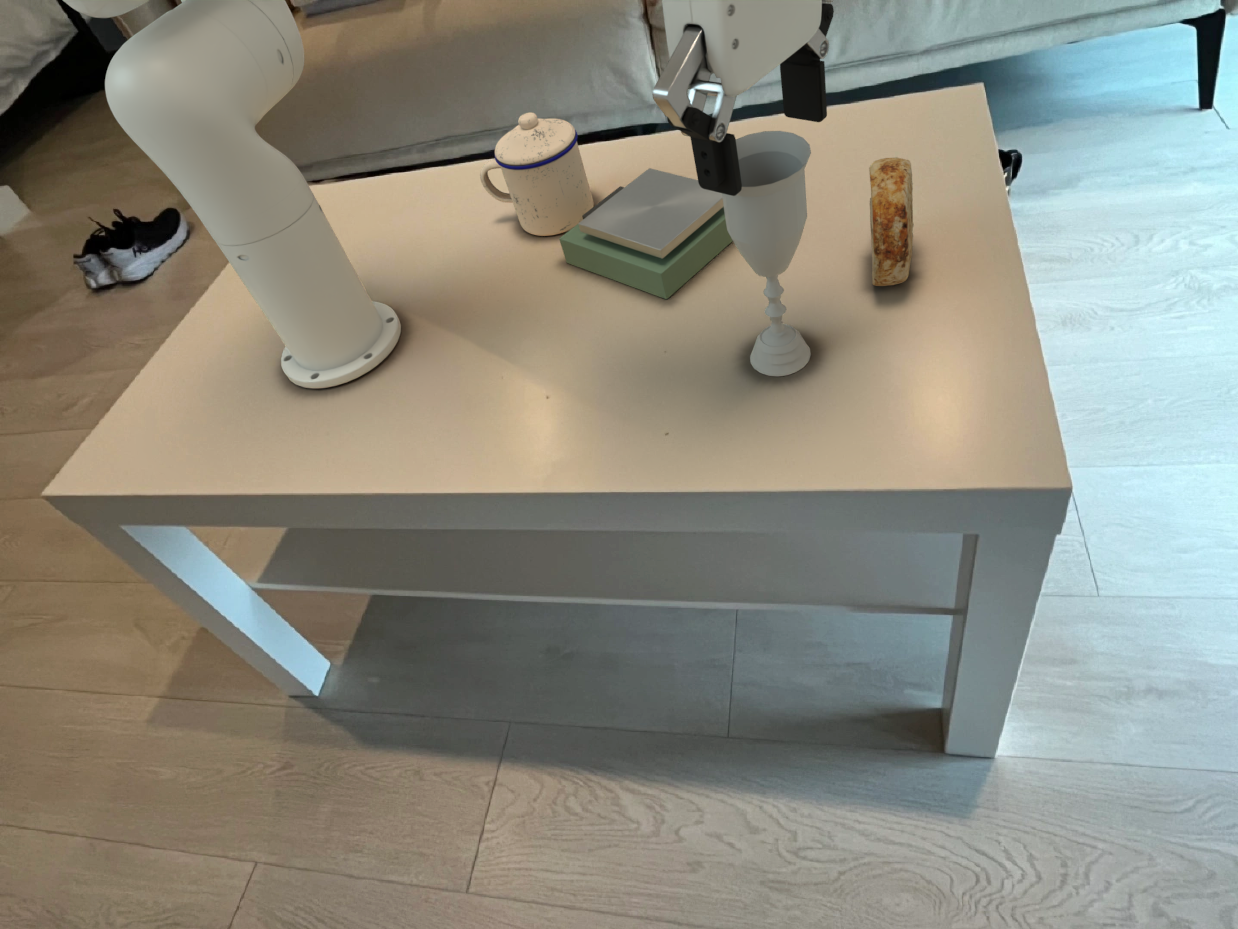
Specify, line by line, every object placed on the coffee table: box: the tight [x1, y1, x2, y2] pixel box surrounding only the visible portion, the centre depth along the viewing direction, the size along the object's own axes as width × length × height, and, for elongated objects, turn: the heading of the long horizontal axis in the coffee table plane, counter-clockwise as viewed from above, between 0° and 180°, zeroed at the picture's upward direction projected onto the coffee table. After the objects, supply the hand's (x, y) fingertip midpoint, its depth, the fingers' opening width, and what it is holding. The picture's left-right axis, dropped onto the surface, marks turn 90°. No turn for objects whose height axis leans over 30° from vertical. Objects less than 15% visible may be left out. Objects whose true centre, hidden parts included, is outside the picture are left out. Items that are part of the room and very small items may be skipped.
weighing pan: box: [578, 167, 724, 259], centre depth 80 cm, size 11×11×1 cm
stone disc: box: [868, 157, 914, 287], centre depth 70 cm, size 10×4×10 cm, turn 167°
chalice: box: [722, 130, 812, 377], centre depth 62 cm, size 7×7×18 cm
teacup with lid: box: [479, 112, 595, 237], centre depth 89 cm, size 12×9×12 cm
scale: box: [558, 185, 733, 300], centre depth 83 cm, size 14×13×4 cm
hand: (764, 152), depth 56 cm, fingers open, 9 cm apart
